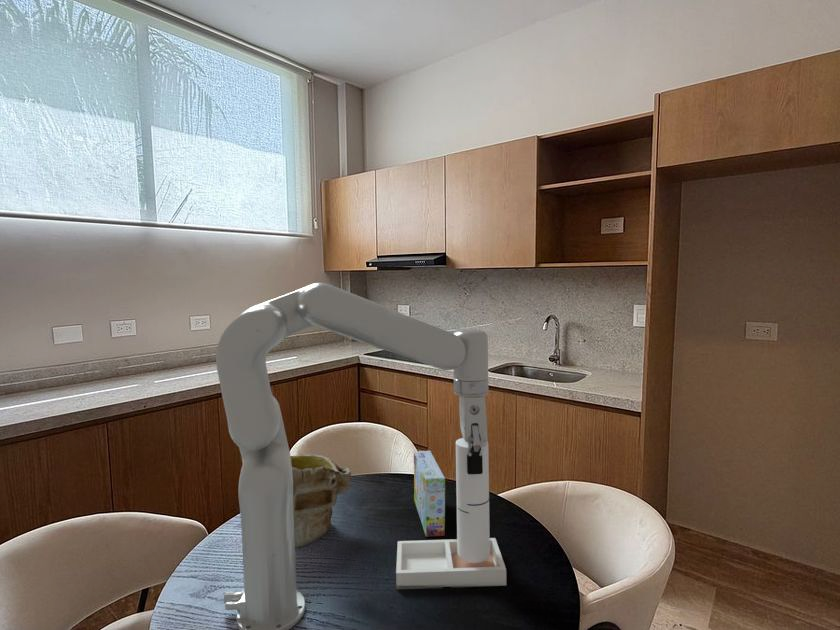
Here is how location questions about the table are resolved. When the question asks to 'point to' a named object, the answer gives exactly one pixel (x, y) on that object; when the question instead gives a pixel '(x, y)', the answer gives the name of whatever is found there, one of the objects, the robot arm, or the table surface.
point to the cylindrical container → (472, 506)
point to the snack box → (429, 493)
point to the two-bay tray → (445, 566)
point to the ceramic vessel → (315, 495)
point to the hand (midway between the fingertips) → (472, 465)
